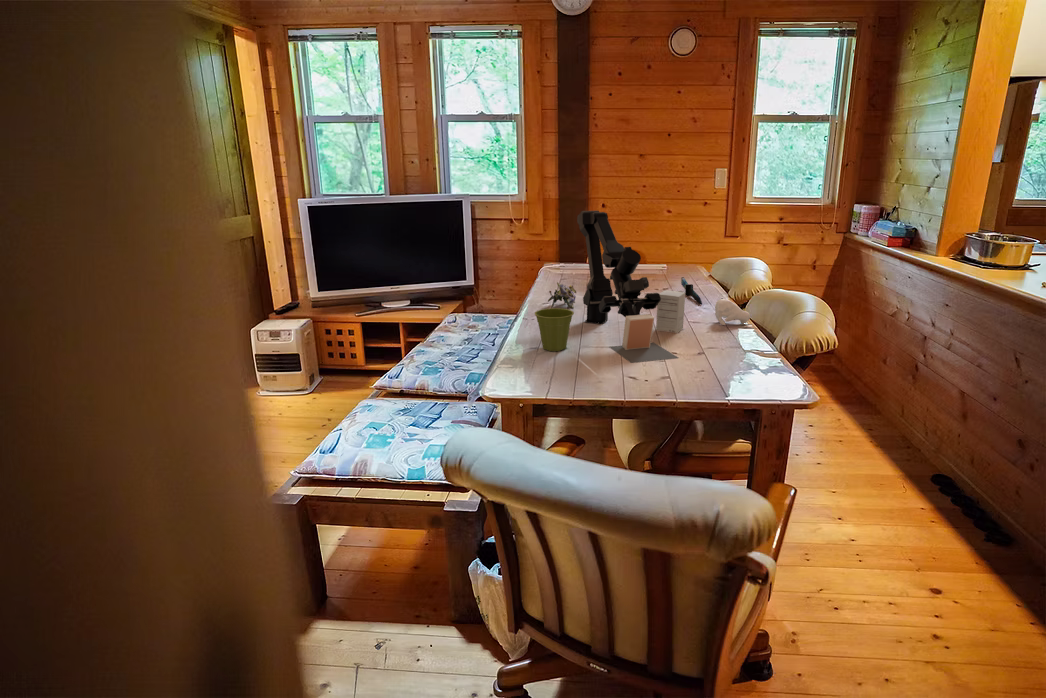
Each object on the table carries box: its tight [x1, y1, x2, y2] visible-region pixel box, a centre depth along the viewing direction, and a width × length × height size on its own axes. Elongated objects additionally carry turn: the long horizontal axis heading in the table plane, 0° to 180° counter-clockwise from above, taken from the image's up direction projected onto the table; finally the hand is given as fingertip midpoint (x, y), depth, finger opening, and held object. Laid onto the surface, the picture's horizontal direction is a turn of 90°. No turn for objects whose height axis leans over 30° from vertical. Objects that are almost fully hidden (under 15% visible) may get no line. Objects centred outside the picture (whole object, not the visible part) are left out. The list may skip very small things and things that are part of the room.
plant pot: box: [534, 307, 575, 352], centre depth 186 cm, size 12×12×11 cm
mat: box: [609, 342, 679, 364], centre depth 182 cm, size 16×15×1 cm
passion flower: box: [547, 282, 577, 309], centre depth 237 cm, size 11×11×12 cm
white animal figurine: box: [714, 298, 751, 326], centre depth 211 cm, size 6×8×12 cm
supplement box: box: [655, 290, 686, 334], centre depth 204 cm, size 7×7×13 cm
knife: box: [680, 276, 703, 306], centre depth 251 cm, size 31×3×4 cm, turn 177°
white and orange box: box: [621, 313, 655, 350], centre depth 184 cm, size 3×8×10 cm, turn 105°
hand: (637, 326), depth 185 cm, fingers closed
